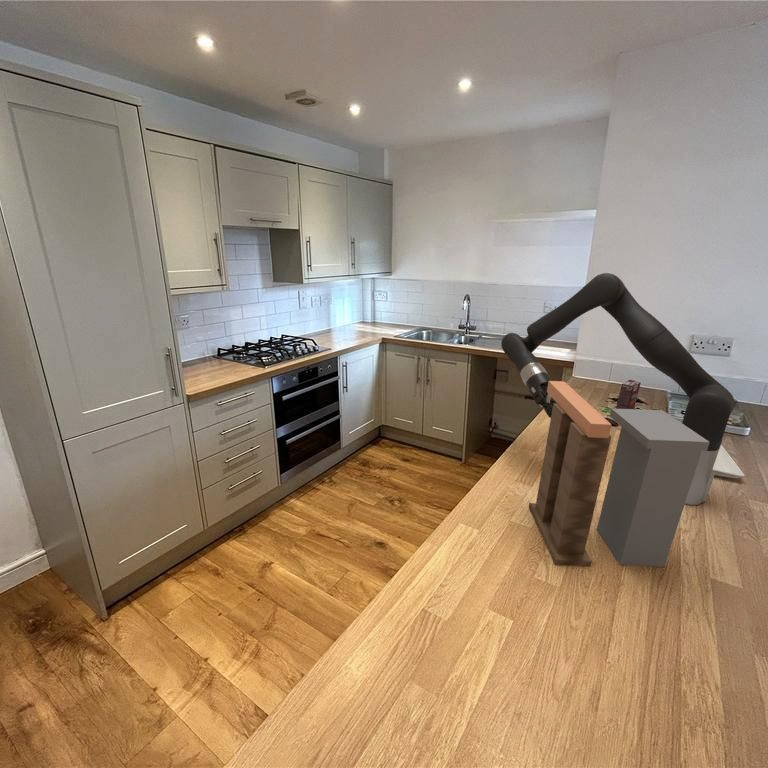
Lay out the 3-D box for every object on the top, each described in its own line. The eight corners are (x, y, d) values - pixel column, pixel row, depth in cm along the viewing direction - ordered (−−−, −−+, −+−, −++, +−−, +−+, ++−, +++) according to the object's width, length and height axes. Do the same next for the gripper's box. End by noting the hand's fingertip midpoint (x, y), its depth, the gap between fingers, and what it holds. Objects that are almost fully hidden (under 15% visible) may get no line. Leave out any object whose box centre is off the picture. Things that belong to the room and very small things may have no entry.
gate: (557, 508, 113) (579, 401, 102) (590, 566, 94) (621, 440, 83) (528, 507, 114) (546, 400, 103) (554, 564, 94) (580, 439, 83)
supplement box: (625, 423, 167) (634, 386, 162) (612, 419, 171) (620, 383, 165) (632, 417, 173) (641, 382, 167) (620, 414, 176) (628, 379, 171)
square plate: (642, 466, 136) (645, 456, 135) (630, 432, 160) (632, 423, 159) (743, 485, 127) (747, 474, 126) (714, 446, 151) (717, 437, 150)
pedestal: (632, 521, 109) (662, 410, 98) (668, 567, 94) (709, 442, 83) (586, 519, 109) (611, 408, 98) (615, 564, 94) (649, 439, 83)
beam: (546, 391, 108) (548, 380, 107) (562, 392, 108) (564, 381, 107) (588, 437, 84) (591, 423, 83) (608, 437, 84) (611, 424, 83)
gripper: (531, 365, 124) (557, 405, 112) (559, 379, 131) (586, 417, 120) (513, 381, 127) (536, 421, 116) (541, 393, 135) (565, 433, 124)
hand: (561, 419), depth 118 cm, fingers open, 8 cm apart
